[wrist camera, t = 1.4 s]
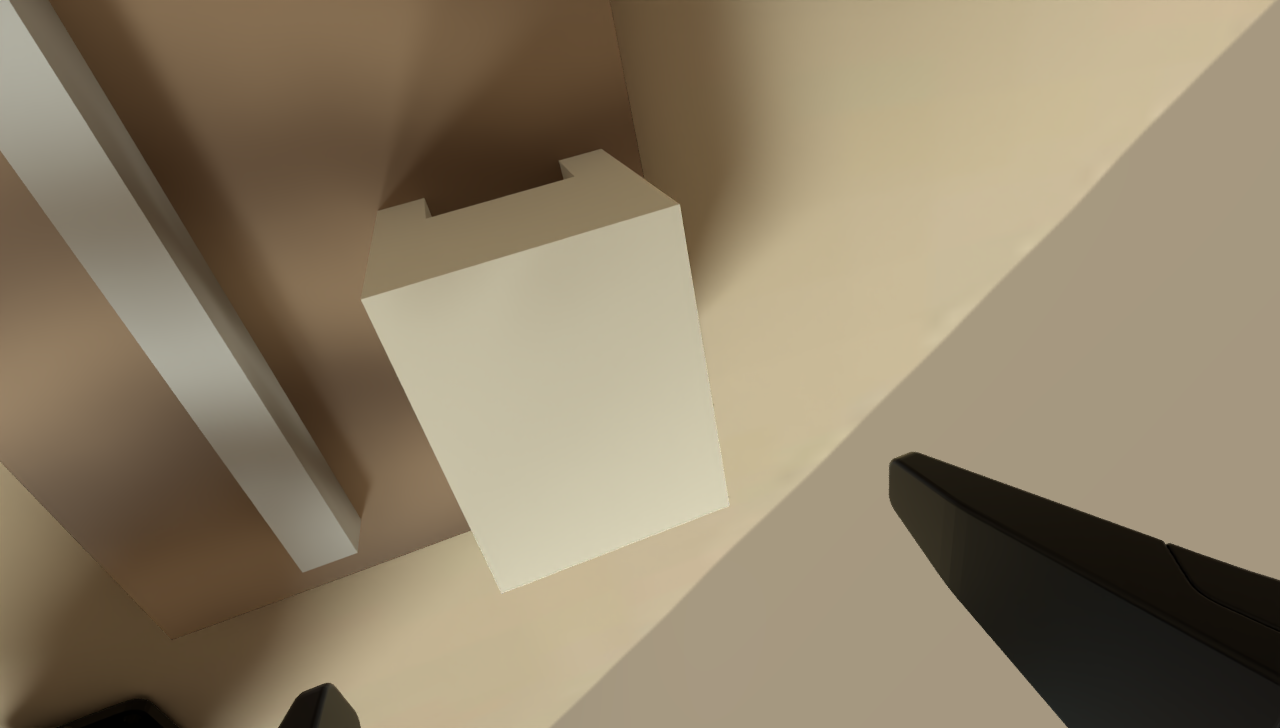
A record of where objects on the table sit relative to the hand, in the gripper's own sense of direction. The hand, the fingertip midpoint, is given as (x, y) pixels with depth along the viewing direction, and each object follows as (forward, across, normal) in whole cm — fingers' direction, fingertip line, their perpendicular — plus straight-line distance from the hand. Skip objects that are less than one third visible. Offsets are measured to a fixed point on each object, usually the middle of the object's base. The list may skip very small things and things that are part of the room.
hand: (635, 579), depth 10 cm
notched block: (+11, 0, 0) cm, 11 cm away
